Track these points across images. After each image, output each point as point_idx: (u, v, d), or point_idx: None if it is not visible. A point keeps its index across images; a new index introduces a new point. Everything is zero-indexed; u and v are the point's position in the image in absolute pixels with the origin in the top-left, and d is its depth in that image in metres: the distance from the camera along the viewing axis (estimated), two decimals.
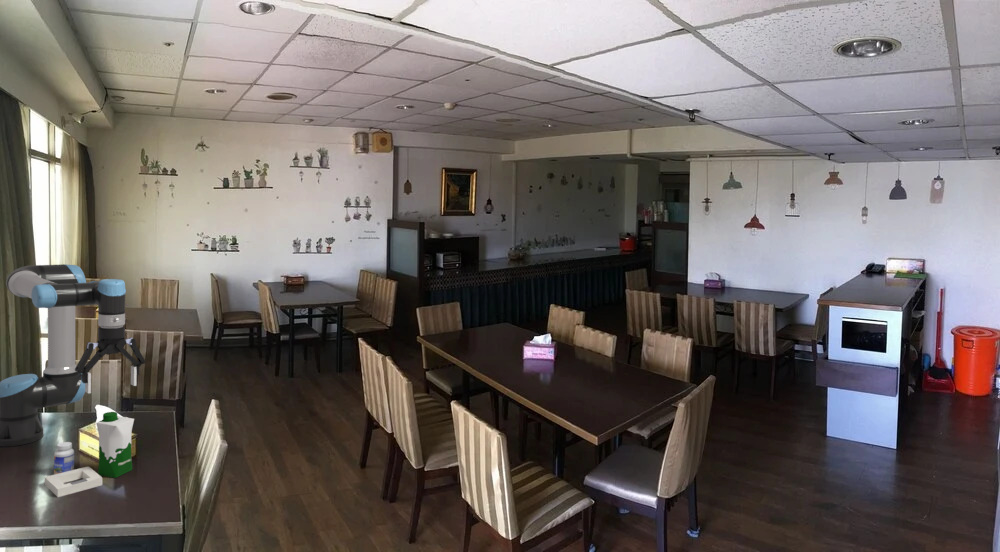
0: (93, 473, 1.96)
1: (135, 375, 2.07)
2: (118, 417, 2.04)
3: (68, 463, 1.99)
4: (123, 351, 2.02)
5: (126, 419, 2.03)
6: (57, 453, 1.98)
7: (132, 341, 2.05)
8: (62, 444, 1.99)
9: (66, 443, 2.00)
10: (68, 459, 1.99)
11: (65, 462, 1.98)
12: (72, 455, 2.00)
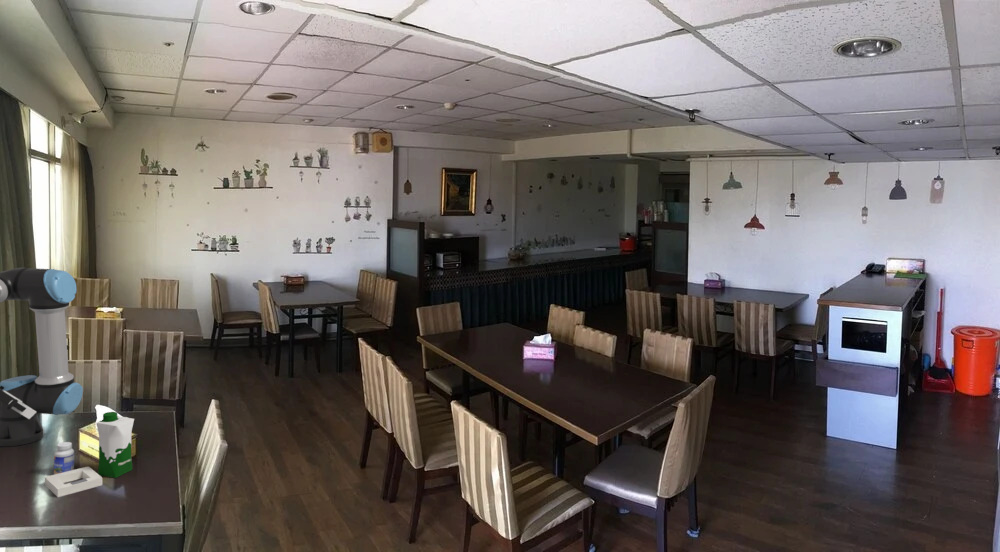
0: (93, 473, 1.96)
1: (18, 412, 1.83)
2: (118, 417, 2.04)
3: (68, 463, 1.99)
4: None
5: (126, 419, 2.03)
6: (57, 453, 1.98)
7: None
8: (62, 444, 1.99)
9: (66, 443, 2.00)
10: (68, 459, 1.99)
11: (65, 462, 1.98)
12: (72, 455, 2.00)
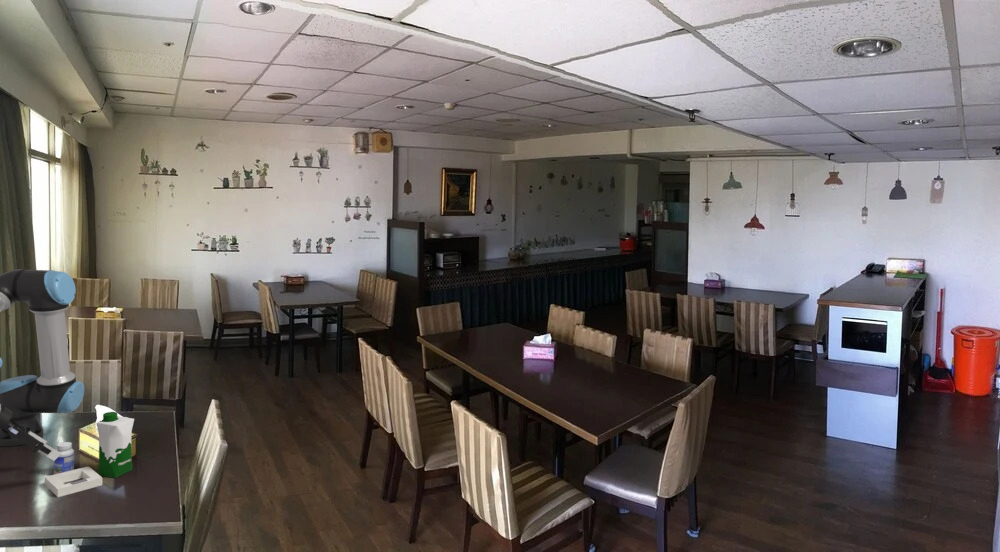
0: (93, 473, 1.96)
1: None
2: (118, 417, 2.04)
3: (68, 463, 1.99)
4: (14, 437, 1.86)
5: (126, 419, 2.03)
6: None
7: None
8: (62, 444, 1.99)
9: (66, 443, 2.00)
10: (68, 459, 1.99)
11: (65, 462, 1.98)
12: (72, 455, 2.00)
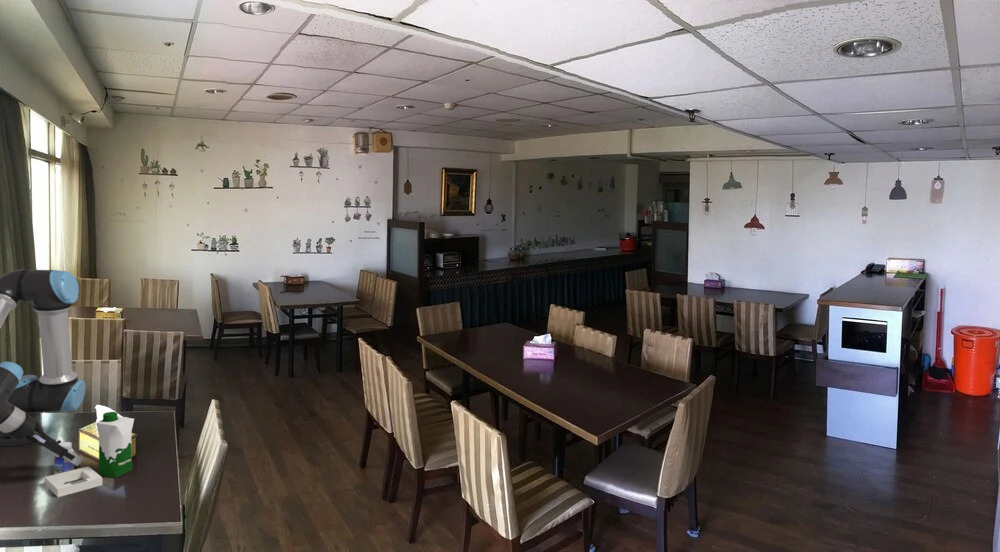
0: (93, 473, 1.96)
1: (68, 460, 1.98)
2: (118, 417, 2.04)
3: (68, 463, 1.99)
4: (38, 444, 1.92)
5: (126, 419, 2.03)
6: None
7: None
8: (62, 444, 1.99)
9: (66, 443, 2.00)
10: None
11: (65, 462, 1.98)
12: None
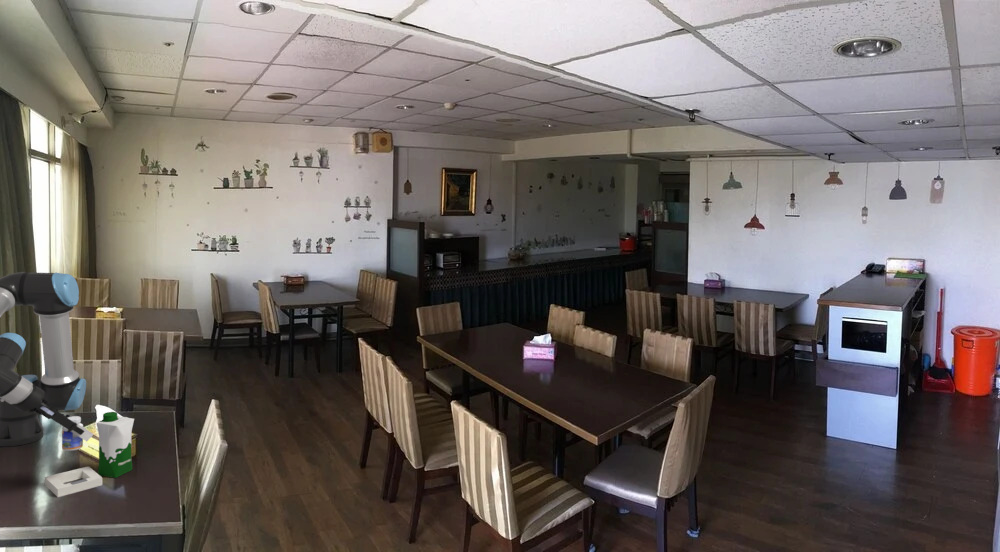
0: (93, 473, 1.96)
1: (77, 435, 1.89)
2: (118, 417, 2.04)
3: (77, 438, 1.89)
4: (46, 417, 1.83)
5: (126, 419, 2.03)
6: None
7: None
8: (71, 418, 1.90)
9: (74, 417, 1.91)
10: None
11: (74, 437, 1.89)
12: None
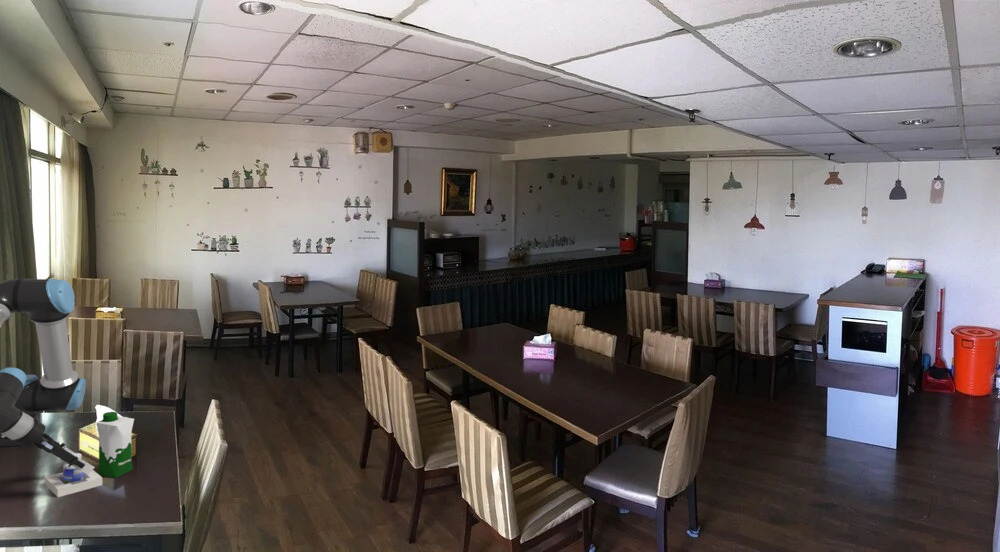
0: (93, 473, 1.96)
1: None
2: (118, 417, 2.04)
3: (78, 476, 1.91)
4: (47, 451, 1.84)
5: (126, 419, 2.03)
6: (66, 465, 1.89)
7: None
8: None
9: (75, 454, 1.92)
10: (78, 471, 1.91)
11: (75, 474, 1.90)
12: None
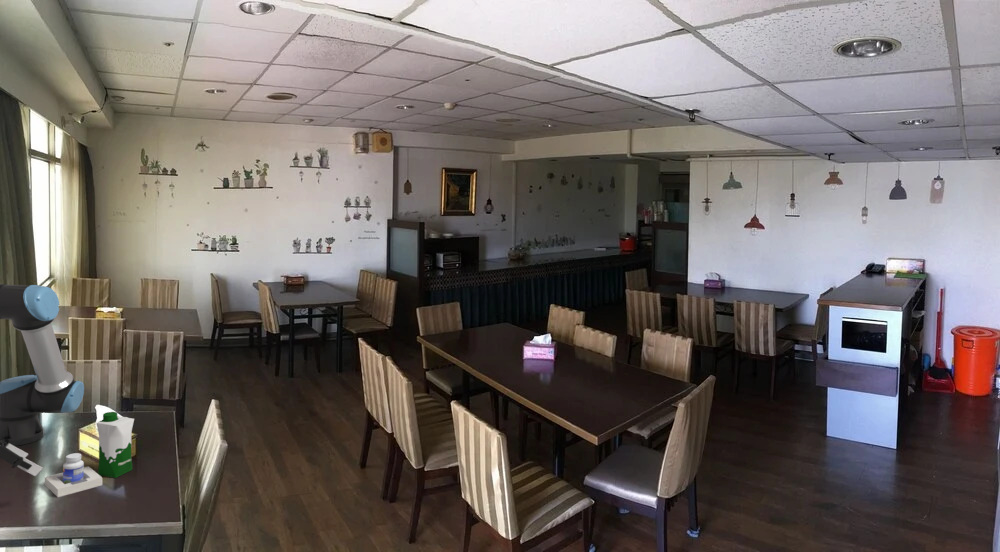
0: (93, 473, 1.96)
1: None
2: (118, 417, 2.04)
3: (78, 476, 1.91)
4: None
5: (126, 419, 2.03)
6: (66, 465, 1.89)
7: None
8: (71, 455, 1.91)
9: (75, 454, 1.92)
10: (78, 471, 1.91)
11: (74, 474, 1.90)
12: (82, 467, 1.92)
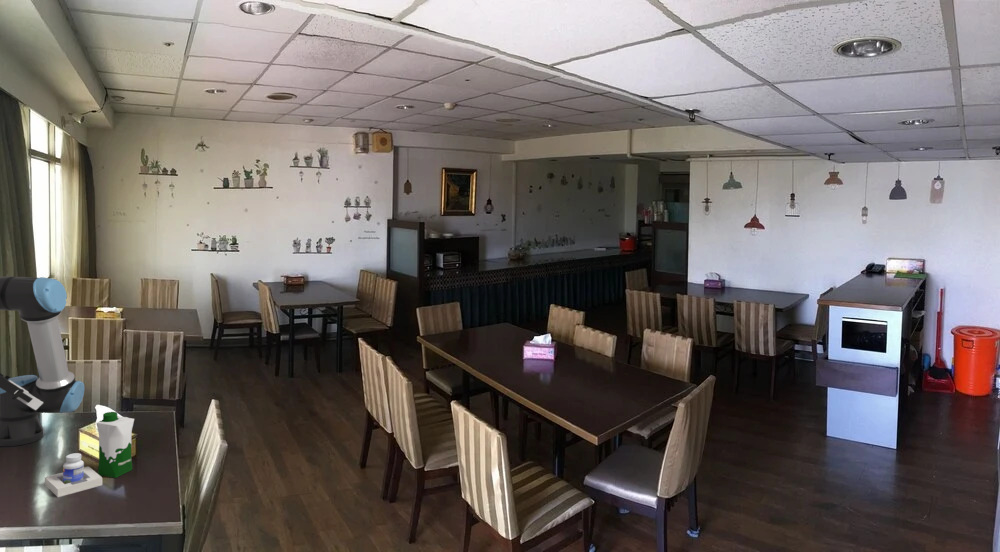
0: (93, 473, 1.96)
1: (24, 403, 1.74)
2: (118, 417, 2.04)
3: (78, 476, 1.91)
4: None
5: (126, 419, 2.03)
6: (66, 465, 1.89)
7: None
8: (71, 455, 1.91)
9: (75, 454, 1.92)
10: (78, 471, 1.91)
11: (74, 474, 1.90)
12: (82, 467, 1.92)
